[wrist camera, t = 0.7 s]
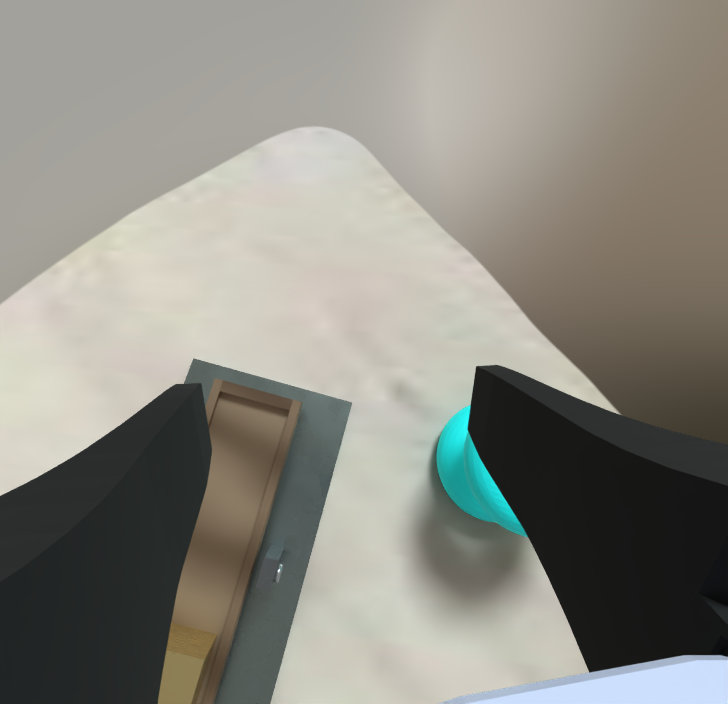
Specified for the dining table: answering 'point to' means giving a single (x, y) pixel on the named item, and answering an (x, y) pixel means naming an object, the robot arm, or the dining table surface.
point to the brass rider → (185, 664)
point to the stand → (279, 535)
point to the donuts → (471, 476)
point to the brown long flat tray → (233, 513)
